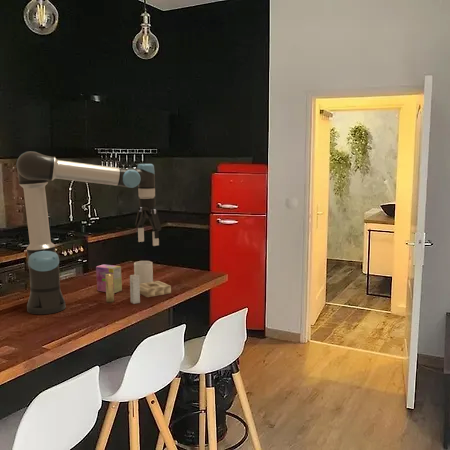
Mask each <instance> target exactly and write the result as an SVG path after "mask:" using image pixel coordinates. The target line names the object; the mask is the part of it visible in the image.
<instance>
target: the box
mask: <svg viewBox="0 0 450 450" xmlns="http://www.w3.org/2000/svg"><path fill="white" fill-rule="evenodd" d="M95 274H96V275H95V276H96V288H97V292H101V293H102V292H104V293H106V274H113V285H114V294H117V293H119V292H122V291H123V285H122V284H123V283H122V282H123V281H122V266H121V265H113V264H101V265H97V266H95Z"/></svg>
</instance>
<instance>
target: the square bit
mask: <svg viewBox="0 0 450 450" xmlns="http://www.w3.org/2000/svg"><path fill="white" fill-rule="evenodd" d="M129 291H130V292H129V293H130V295H129V296H130V304H133V305H135V304H140V303H141V297H140V296H141V294H140V284H139V275H137V274H134V273H133V274H130V275H129Z"/></svg>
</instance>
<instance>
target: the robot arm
mask: <svg viewBox="0 0 450 450" xmlns="http://www.w3.org/2000/svg"><path fill="white" fill-rule="evenodd" d="M16 169H17V177H18V185H19V186H20V187H21V188H23V196H24V204H25V213H26V223H27V229H28V231H27V232H28V238H29V239H28V240H29V244H28V246H27V247H26V254H27V255H26V256H27V266H28V270H29V272H28V273H29V287H30V293H29V297H28V300H27V303H26V312H27V313H28V314H32V315H49V314H56V313H59V312H61V311H64V310H65V309H66V308H67V307H66V301H65V298H64V295H63V292H62V291H61V277H60V258H59V254H58V253H57V252H56V244H54V243H53V242H52V240H51V239H52V238H51V231H50V223H49V214H48V211H49V210H48V204H47V203H48V202H47V194H46V185H48V183H49V181H54V180H56V179H58V180H67V181H73V182H74V181H75V182H82V183H92V184H93V183H94V184H102V185H109V186H113V187H114V186H117V187H123V188H131V189H133V188H136V187H138V188H137V189H138V190H137V191H138V206H139V207H137V214H136V217H135V218H136V219H135V222H134V225H135V227H137V238H138V240H137V242H138V243H140V242H141V243H143V242H145V227H144V224H145V222H146V220H148V221H149V224H150V226H151V227H152V232H151V233H152V246H153V247H156V246H160V239H159V237H160V236H159V234H160V232H159V231H162V225H161V222H160V217H159V214H158V209H157V208H154V207H155V206H156V198H155V197H156V186H155V185H156V181H155V180H156V179H155V178H156V177H155V175H156V173H155V172H156V171H155V165H154V164H153V163H137V168H121V167H113V166H109V165H108V166H106V165H99V164H91V163H83V162H77V161H68V160H61V159H57V158H56V156H50V155H45V154H42V153H40V152H37V151H32V150H31V151H29V150H28V151H25V152H23V153H21V154H20V155H19V157H18V158H17V159H16Z"/></svg>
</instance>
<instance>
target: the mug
mask: <svg viewBox="0 0 450 450" xmlns="http://www.w3.org/2000/svg"><path fill="white" fill-rule="evenodd" d="M153 268H154V267H153V261H150V260H139V261H135V262H134V263H133V271H134V272H133V275H134V274H137V275H139V284H141V283H147V282H153V281H154V272H153Z"/></svg>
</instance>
